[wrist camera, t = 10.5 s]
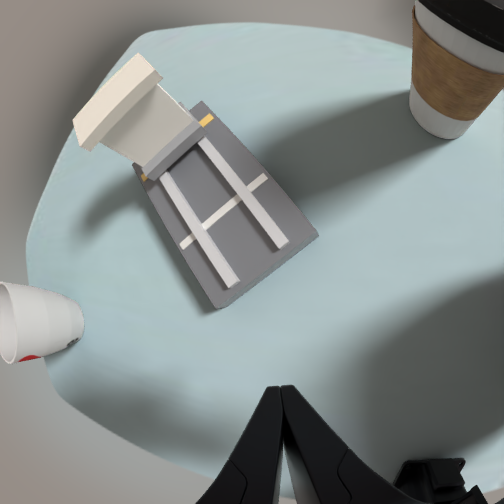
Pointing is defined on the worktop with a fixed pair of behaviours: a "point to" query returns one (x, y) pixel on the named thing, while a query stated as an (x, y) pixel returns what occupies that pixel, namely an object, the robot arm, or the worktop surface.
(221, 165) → the fader console
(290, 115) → the worktop surface
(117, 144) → the plate
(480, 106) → the coffee cup
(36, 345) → the cup
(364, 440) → the worktop surface
